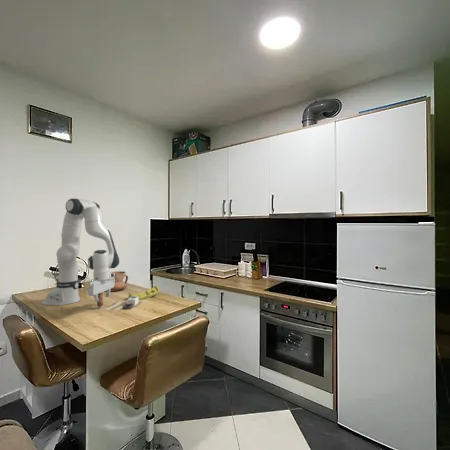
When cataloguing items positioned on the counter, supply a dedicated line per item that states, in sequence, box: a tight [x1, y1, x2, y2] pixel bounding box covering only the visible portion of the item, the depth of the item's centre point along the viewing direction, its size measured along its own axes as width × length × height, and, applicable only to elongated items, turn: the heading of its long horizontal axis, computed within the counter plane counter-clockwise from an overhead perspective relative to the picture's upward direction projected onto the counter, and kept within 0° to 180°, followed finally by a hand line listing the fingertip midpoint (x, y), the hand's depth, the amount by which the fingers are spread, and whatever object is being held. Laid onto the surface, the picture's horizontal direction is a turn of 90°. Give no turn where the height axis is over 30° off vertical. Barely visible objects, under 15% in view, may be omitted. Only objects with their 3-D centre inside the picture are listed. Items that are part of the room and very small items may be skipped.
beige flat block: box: [103, 301, 143, 311], centre depth 157 cm, size 18×16×3 cm
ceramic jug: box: [109, 270, 129, 292], centre depth 200 cm, size 18×14×14 cm
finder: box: [126, 296, 140, 305], centre depth 161 cm, size 6×5×4 cm
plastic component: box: [127, 285, 160, 301], centre depth 176 cm, size 20×7×10 cm
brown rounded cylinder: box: [96, 292, 104, 310], centre depth 152 cm, size 3×3×10 cm
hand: (102, 298), depth 153 cm, fingers open, 8 cm apart
